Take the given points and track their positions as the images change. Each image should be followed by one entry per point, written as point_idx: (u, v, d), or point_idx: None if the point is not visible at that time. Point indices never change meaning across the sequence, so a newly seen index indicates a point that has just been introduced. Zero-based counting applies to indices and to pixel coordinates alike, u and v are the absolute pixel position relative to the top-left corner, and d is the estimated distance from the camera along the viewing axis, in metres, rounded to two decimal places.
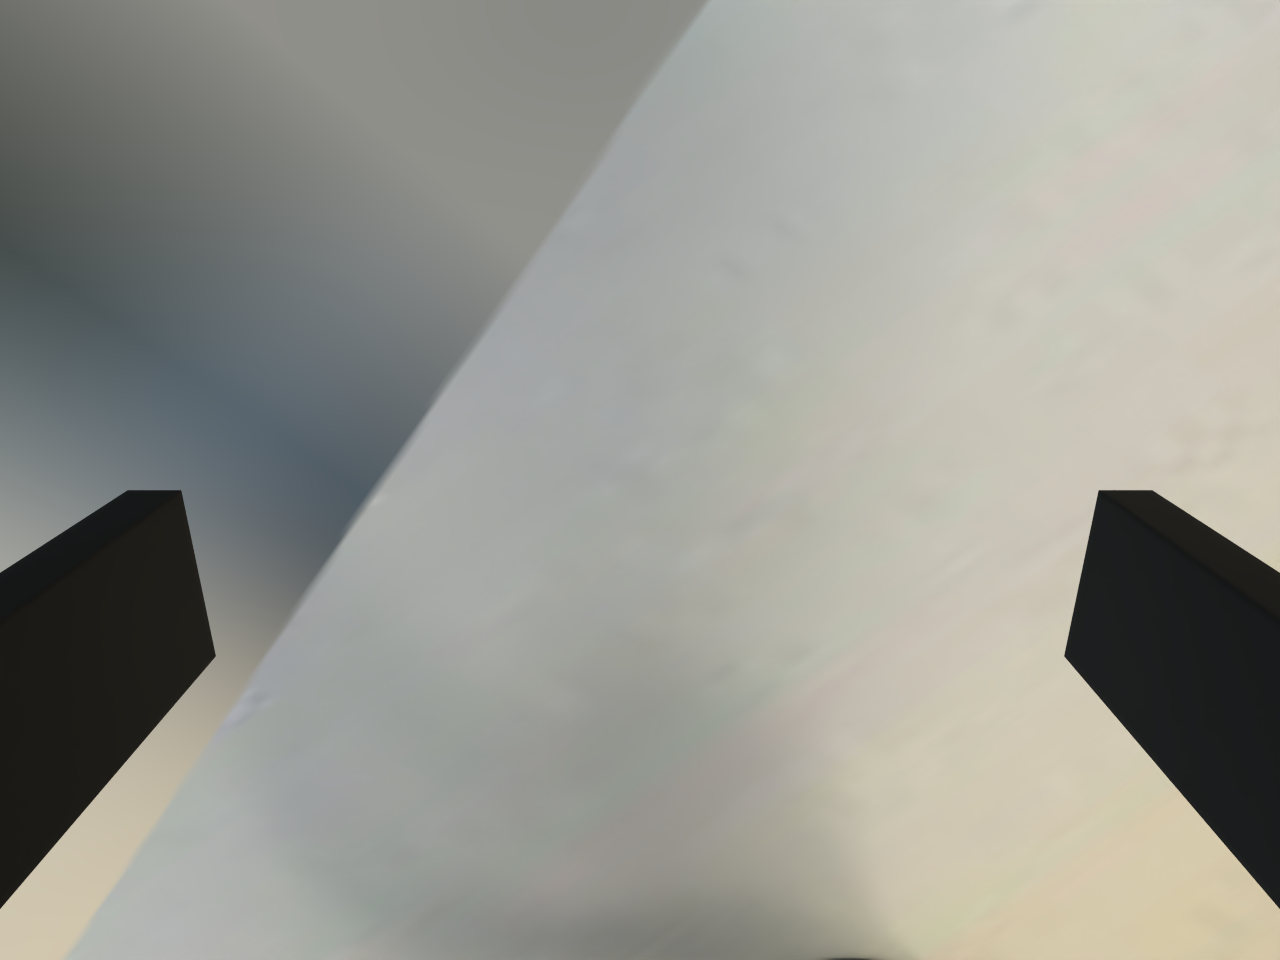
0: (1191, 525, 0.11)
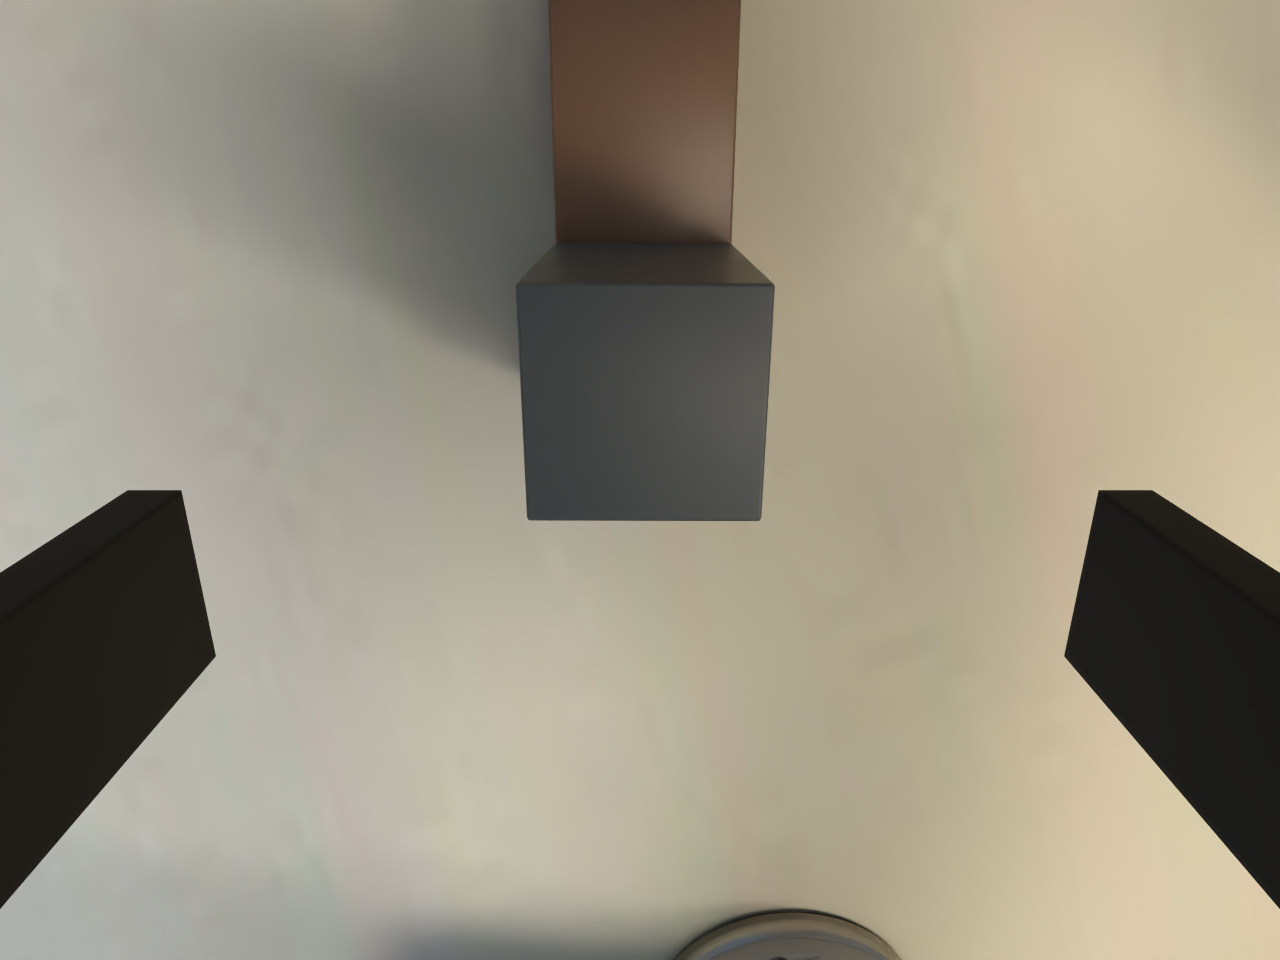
0: (1191, 525, 0.11)
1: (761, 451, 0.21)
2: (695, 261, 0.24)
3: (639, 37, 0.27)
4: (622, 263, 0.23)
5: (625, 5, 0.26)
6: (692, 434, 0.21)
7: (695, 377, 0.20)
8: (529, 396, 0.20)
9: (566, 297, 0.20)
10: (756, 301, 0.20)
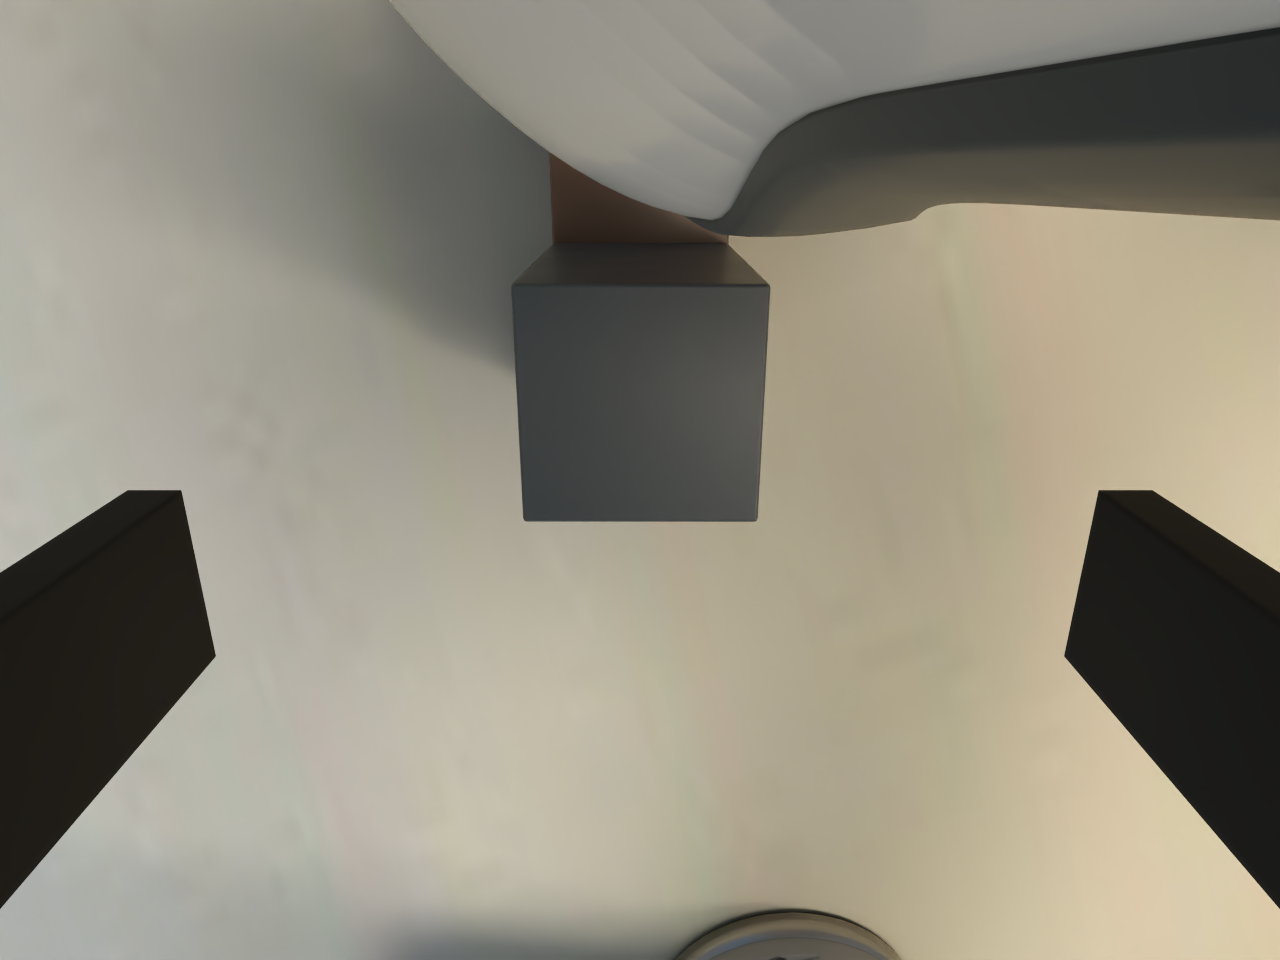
0: (1190, 525, 0.11)
1: (757, 452, 0.21)
2: (691, 261, 0.24)
3: None
4: (618, 264, 0.23)
5: None
6: (688, 434, 0.21)
7: (692, 378, 0.20)
8: (525, 397, 0.20)
9: (561, 298, 0.20)
10: (752, 302, 0.20)
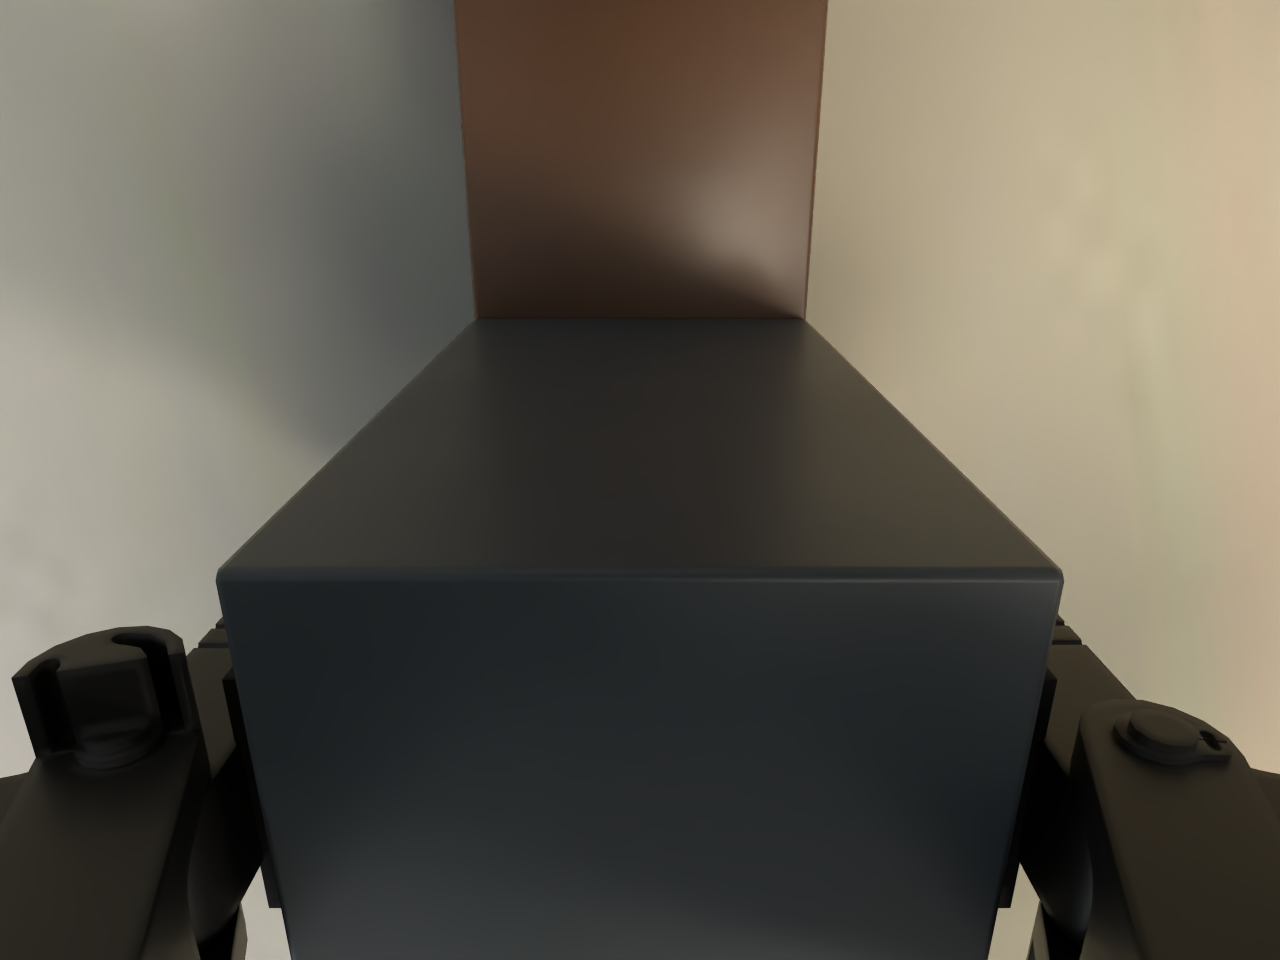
0: None
1: None
2: (760, 400, 0.10)
3: None
4: (586, 412, 0.10)
5: None
6: (780, 956, 0.07)
7: (794, 824, 0.07)
8: (295, 870, 0.07)
9: (382, 613, 0.06)
10: (1002, 623, 0.06)
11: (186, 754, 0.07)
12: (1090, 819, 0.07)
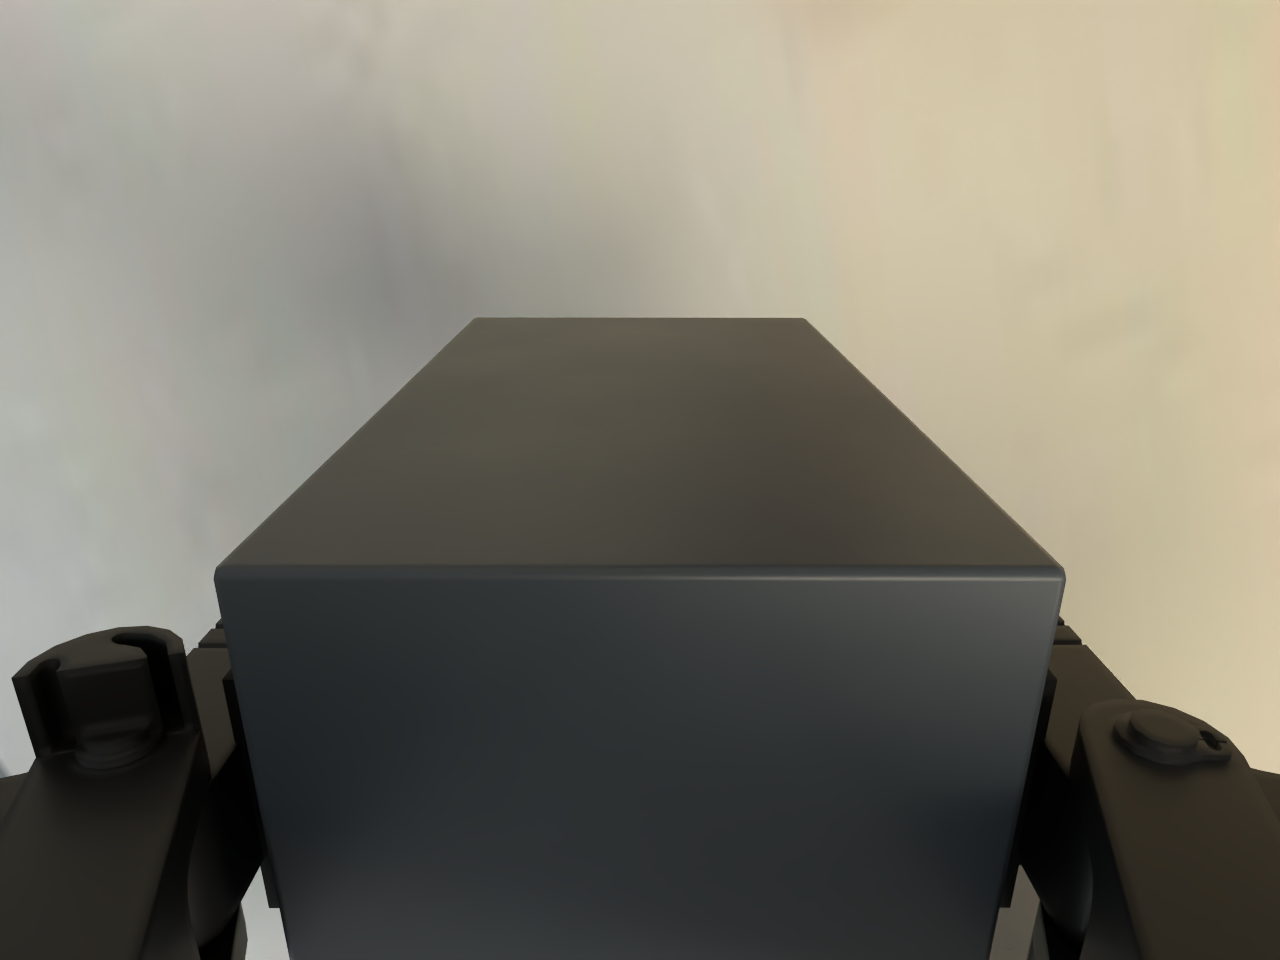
0: None
1: None
2: (760, 399, 0.10)
3: None
4: (586, 411, 0.10)
5: None
6: (781, 955, 0.07)
7: (796, 825, 0.07)
8: (294, 869, 0.07)
9: (380, 611, 0.06)
10: (1004, 621, 0.06)
11: (188, 754, 0.07)
12: (1090, 819, 0.07)
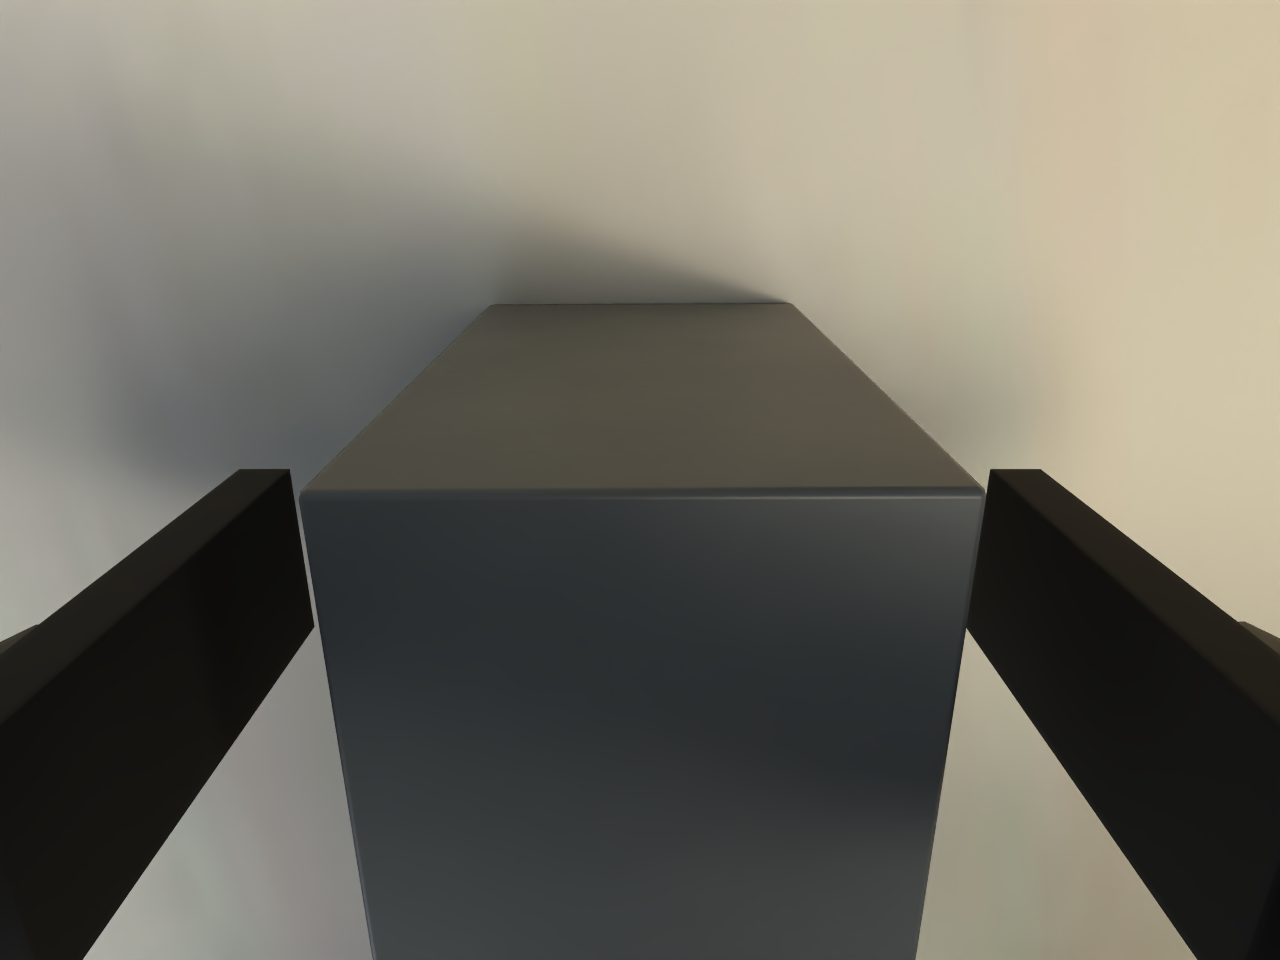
0: (1065, 499, 0.11)
1: (924, 857, 0.09)
2: (747, 369, 0.11)
3: None
4: (595, 379, 0.11)
5: None
6: (761, 824, 0.09)
7: (772, 707, 0.08)
8: (358, 749, 0.08)
9: (433, 527, 0.07)
10: (937, 533, 0.07)
11: None
12: None
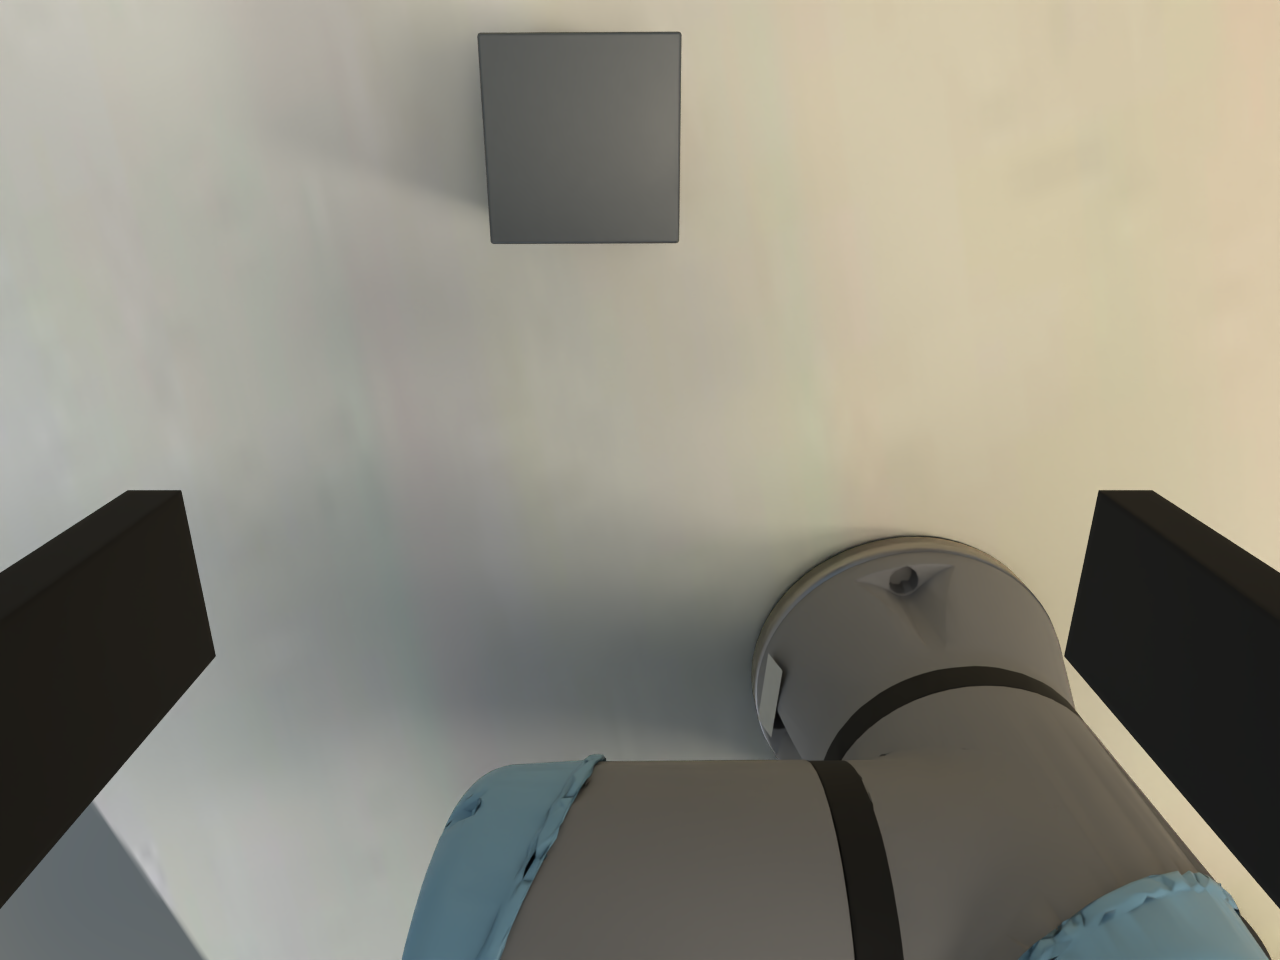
0: (1191, 525, 0.11)
1: (676, 179, 0.26)
2: None
3: None
4: None
5: None
6: (621, 164, 0.26)
7: (621, 114, 0.25)
8: (490, 131, 0.26)
9: (517, 44, 0.25)
10: (667, 47, 0.25)
11: None
12: None
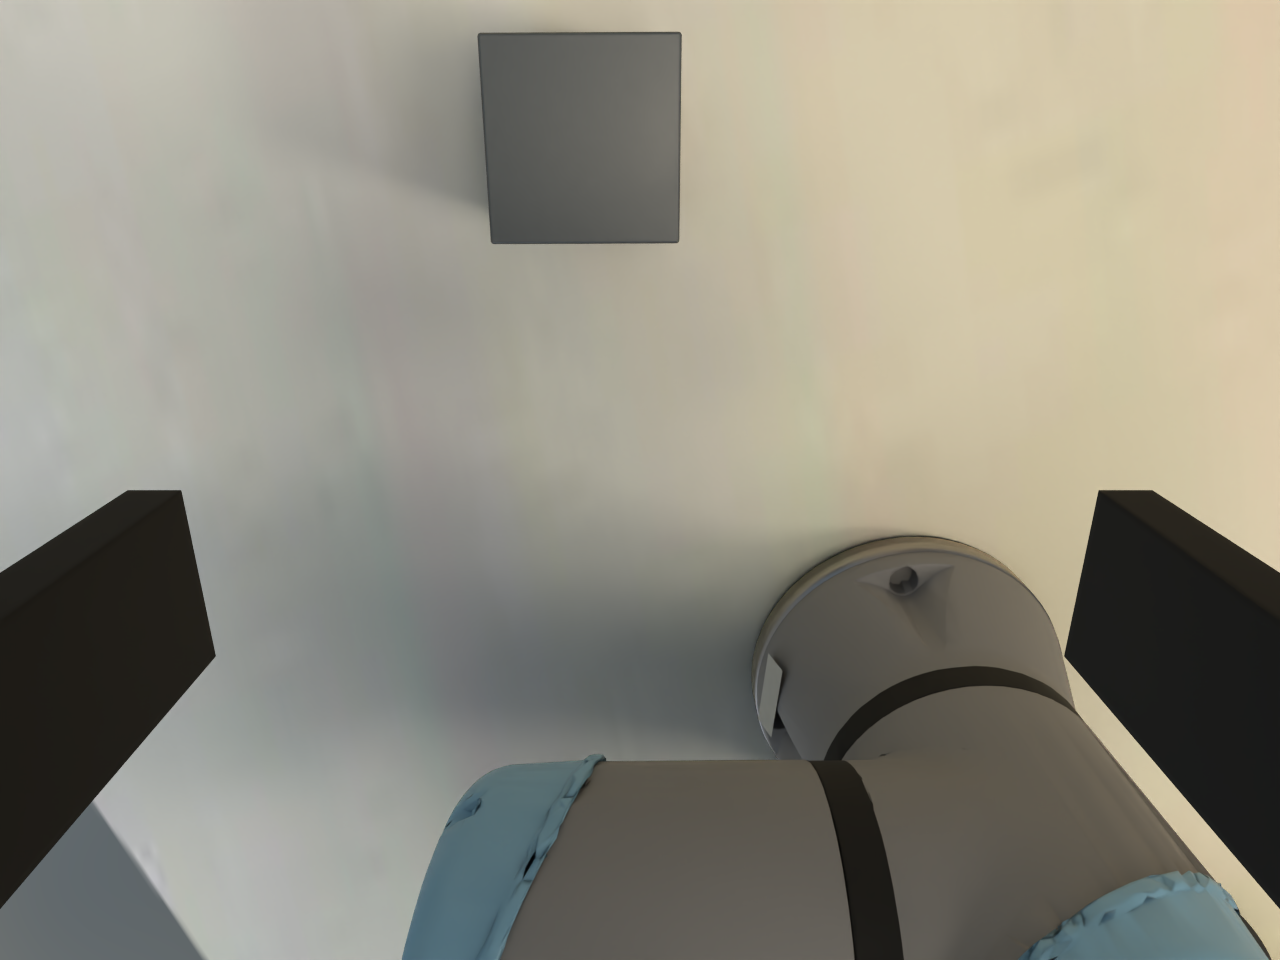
0: (1191, 525, 0.11)
1: (676, 179, 0.26)
2: None
3: None
4: None
5: None
6: (621, 164, 0.26)
7: (622, 115, 0.25)
8: (490, 131, 0.26)
9: (517, 44, 0.25)
10: (667, 47, 0.25)
11: None
12: None
